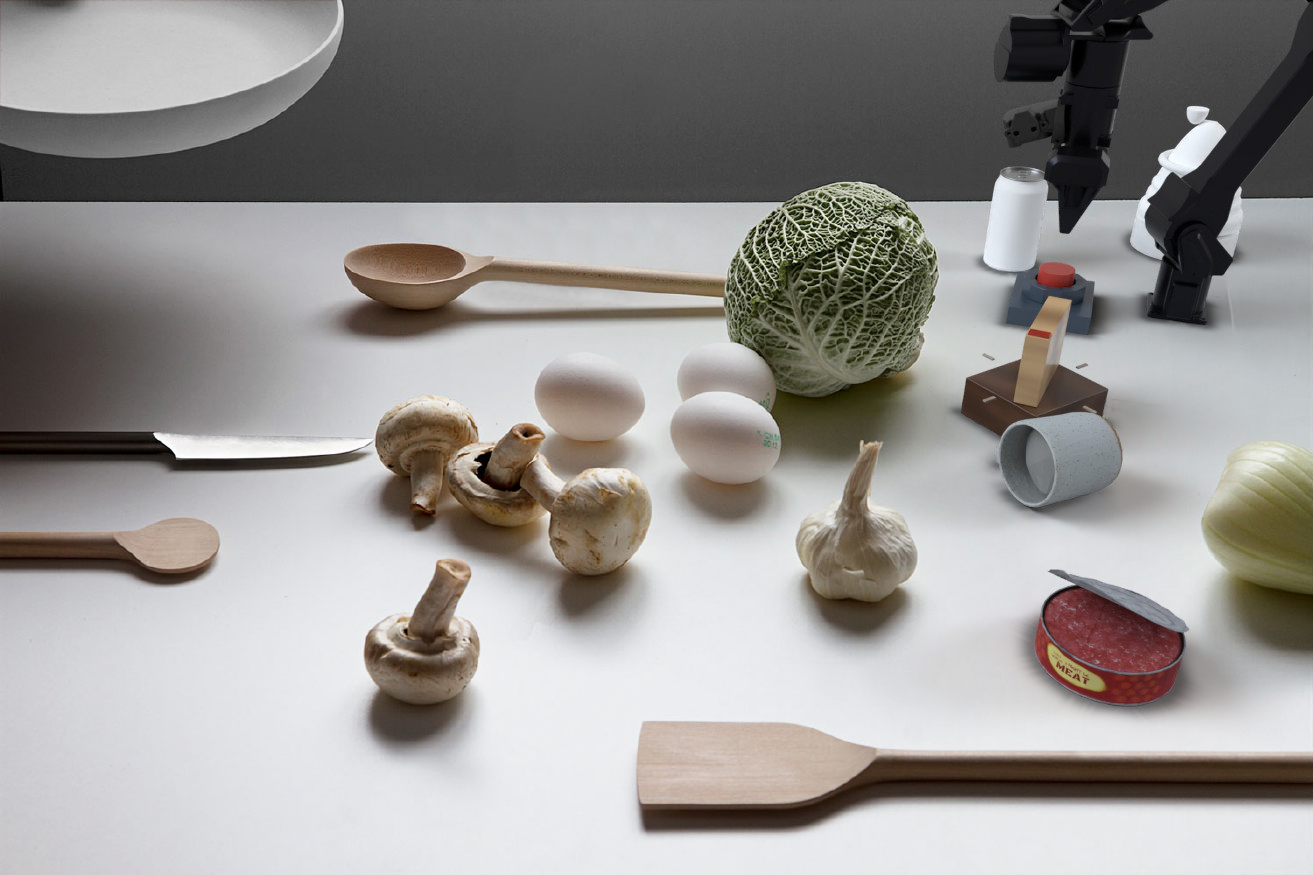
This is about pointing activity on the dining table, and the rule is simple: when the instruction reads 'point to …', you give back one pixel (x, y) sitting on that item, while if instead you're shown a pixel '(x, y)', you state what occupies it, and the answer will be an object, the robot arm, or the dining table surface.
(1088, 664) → the canned food
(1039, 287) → the button block
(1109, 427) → the ceramic mug
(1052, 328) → the tan wooden flat block
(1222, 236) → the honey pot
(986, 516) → the dining table surface
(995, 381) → the wooden block
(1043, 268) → the button
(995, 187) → the can
